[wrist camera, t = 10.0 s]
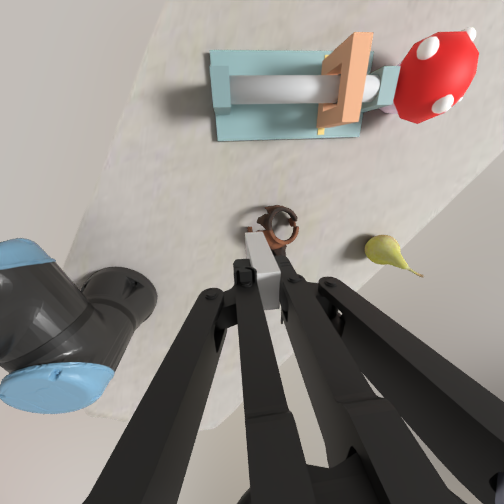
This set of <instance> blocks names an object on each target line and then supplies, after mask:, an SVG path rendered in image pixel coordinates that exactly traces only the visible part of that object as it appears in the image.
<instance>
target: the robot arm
mask: <svg viewBox="0 0 504 504" xmlns="http://www.w3.org/2000/svg"><path fill="white" fill-rule="evenodd" d="M245 245H246V259H237V260H235V261H234V263H233V267H234V282H235V283H234V286H233V287H232V288H231V289H229V290H227V291H225V292H223V291H222V290H220V289H218V288H209V289H206V290H204V291H202V292H201V293H200V295H199V297H198V298H197V300H196V302H195V304H194V306H193V307H192V309H191V311H190V313H189V315H188V316H187V318H186V320H185V322H184V324H183V326H182V327H181V329H180V331H179V333H178V335H177V336H176V338H175V340H174V342H173V344H172V345H171V347H170V349H169V351H168V353H167V355H166V356H165V358H164V360H163V362H162V364H161V365H160V367H159V369H158V371H157V373H156V374H155V376H154V378H153V380H152V382H151V383H150V385H149V387H148V389H147V391H146V393H145V394H144V396H143V398H142V400H141V402H140V403H139V405H138V407H137V409H136V411H135V412H134V414H133V416H132V418H131V420H130V422H129V423H128V425H127V427H126V429H125V431H124V433H123V434H122V436H121V438H120V440H119V441H118V443H117V445H116V447H115V449H114V451H113V452H112V454H111V456H110V458H109V460H108V461H107V463H106V465H105V467H104V469H103V470H102V472H101V474H100V476H99V478H98V480H97V481H96V483H95V485H94V487H93V489H92V491H91V492H90V494H89V496H88V497H87V498H86V500H85V501H84V502H83V503H82V504H177V501H178V497H179V494H180V491H181V487H182V484H183V480H184V477H185V474H186V470H187V466H188V463H189V460H190V456H191V453H192V450H193V446H194V443H195V439H196V436H197V433H198V429H199V426H200V422H201V419H202V415H203V412H204V409H205V405H206V402H207V398H208V395H209V391H210V388H211V385H212V381H213V378H214V374H215V371H216V368H217V364H218V361H219V357H220V354H221V350H222V347H223V344H224V340H225V337H226V333H227V328H229V327H231V326H234V325H236V324H238V334H239V347H240V360H241V373H242V386H243V399H244V412H245V425H246V439H247V451H248V464H249V478H250V488H249V489H248V490H247V491H246V492H245V494H244V495H243V496H242V497H241V499H240V500H239V502H238V503H237V504H466V503H465V502H464V501H462V500H461V499H460V498H459V497H458V496H456V495H455V494H454V493H453V492H451V491H450V490H449V489H448V488H447V486H446V485H445V483H444V482H443V480H442V479H441V477H440V476H439V474H438V473H437V471H436V469H435V468H434V466H433V465H432V463H431V462H430V460H429V459H428V458H427V456H426V454H425V453H424V451H423V450H422V448H421V447H420V445H419V444H418V442H417V441H416V439H415V437H414V436H413V434H412V433H411V431H410V430H409V428H408V427H407V425H406V424H405V422H406V423H407V424H408V425H409V426H410V427H411V428H412V430H413V431H414V432H415V433H416V434H417V435H418V436H419V437H420V439H421V440H422V441H423V442H424V443H425V444H426V445H427V446H428V448H429V449H430V450H431V451H432V452H433V453H434V454H435V456H436V457H437V458H438V459H439V460H440V461H441V462H442V463H443V464H444V465H445V466H446V467H447V469H448V470H449V471H450V472H451V473H452V474H453V475H454V476H455V477H456V478H457V479H458V480H459V481H460V482H461V483H462V484H463V485H464V486H465V487H466V488H467V489H468V490H469V491H470V492H471V493H472V494H473V495H475V497H476V498H477V499H478V500H479V501H481V502H482V503H483V504H504V402H503V401H501V400H500V399H499V398H498V397H496V396H495V395H493V394H492V393H491V392H490V391H488V390H487V389H485V388H484V387H483V386H481V385H480V384H479V383H477V382H476V381H475V380H473V379H472V378H471V377H469V376H468V375H467V374H465V373H464V372H462V371H461V370H460V369H458V368H457V367H456V366H454V365H453V364H452V363H450V362H449V361H448V360H446V359H445V358H444V357H442V356H441V355H440V354H438V353H437V352H436V351H434V350H433V349H432V348H430V347H429V346H428V345H426V344H425V343H424V342H422V341H421V340H420V339H418V338H417V337H416V336H414V335H413V334H411V333H410V332H409V331H407V330H406V329H405V328H403V327H402V326H401V325H399V324H398V323H396V322H395V321H394V320H393V319H391V318H390V317H389V316H387V315H386V314H384V313H383V312H382V311H380V310H379V309H378V308H376V307H375V306H374V305H372V304H371V303H370V302H368V301H367V300H366V299H364V298H363V297H362V296H360V295H359V294H358V293H356V292H355V291H354V290H352V289H351V288H350V287H348V286H347V285H346V284H344V283H343V282H341V281H340V280H338V279H337V278H333V277H323V278H320V280H319V283H311V282H306V280H305V279H304V278H303V277H302V276H301V275H299V274H297V273H296V272H295V270H294V268H293V266H292V265H291V263H290V261H289V259H288V258H287V257H285V256H284V255H280V256H273V254H272V251H271V249H270V247H269V245H268V243H267V240H266V238H265V236H264V234H263V232H248V233H245ZM156 303H157V292H156V289H155V287H154V286H153V284H152V283H151V282H150V281H149V280H148V279H147V278H146V277H145V276H143V275H142V274H140V273H138V272H136V271H134V270H131V269H128V268H122V267H110V268H105V269H102V270H99V271H97V272H96V273H94V274H93V275H92V276H91V277H90V278H89V279H88V280H87V281H86V282H85V284H84V285H83V287H82V289H81V291H80V290H79V289H78V288H77V287H76V285H75V284H74V283H73V282H72V281H71V280H70V278H69V277H68V276H67V275H66V274H65V273H64V272H63V270H62V269H61V268H60V267H59V266H58V265H57V264H56V260H55V259H53V258H50V257H49V256H48V255H47V254H46V253H45V251H44V250H42V248H40V246H39V245H38V244H36V243H35V242H33V241H31V240H29V239H22V238H16V239H11V240H7V241H3V242H0V366H1V367H2V368H4V369H5V370H6V371H8V372H9V375H6V376H5V377H4V379H2V381H1V384H0V399H1V400H2V401H3V402H4V403H6V404H7V405H9V406H12V407H14V408H16V409H20V410H23V411H27V412H32V413H42V414H58V413H67V412H72V411H77V410H79V409H83V408H85V407H87V406H89V405H91V404H92V403H94V402H95V401H96V400H97V399H98V398H99V397H100V396H101V395H102V393H103V392H104V390H105V388H106V387H107V385H108V383H109V381H110V380H111V379H112V378H113V376H114V373H115V371H116V369H117V367H118V365H119V362H120V360H121V358H122V356H123V354H124V352H125V350H126V348H127V346H128V344H129V341H130V339H131V337H132V335H133V333H134V331H135V330H136V329H137V328H138V327H139V326H140V324H141V323H142V322H144V321H145V320H147V319H148V318H149V317H150V315H151V314H152V312H153V310H154V308H155V306H156ZM280 304H281V324H283V321H284V324H285V326H286V329H287V332H288V335H289V338H290V341H291V344H292V347H293V350H294V353H295V356H296V359H297V362H298V365H299V368H300V371H301V374H302V377H303V380H304V383H305V386H306V389H307V392H308V395H309V397H310V400H311V403H312V406H313V409H314V412H315V415H316V418H317V421H318V424H319V427H320V430H321V433H322V436H323V439H324V442H325V446H326V453H327V460H328V464H329V468H324V467H319V466H313V465H308V464H306V461H305V457H304V454H303V450H302V446H301V442H300V438H299V434H298V431H297V427H296V423H295V420H294V417H293V414H292V412H290V411H289V409H288V406H287V402H286V398H285V394H284V390H283V386H282V382H281V378H280V374H279V369H278V365H277V361H276V357H275V353H274V349H273V345H272V341H271V337H270V333H269V329H268V325H267V321H266V317H265V313H264V310H271V309H279V307H280ZM338 310H340V311H341V312H342V315H341V314H340V313H338ZM362 373H363V374H364V375H365V376H366V377H367V379H368V380H369V381H370V382H371V383H372V384H373V385H374V386H375V388H376V389H377V390H378V391H379V392H380V393H381V394H382V395H383V397H384V398H381V397H378V396H377V395H376V394H375V393H374V392H373V390H372V388H371V387H370V385H369V384H368V382H367V380H366V379H365V377H364V375H363V374H362ZM401 417H402V418H403V419H404V420H405V422H404V421H403V419H402V418H401Z"/></svg>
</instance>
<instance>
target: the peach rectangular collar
mask: <svg viewBox="0 0 504 504" xmlns="http://www.w3.org/2000/svg"><path fill="white" fill-rule="evenodd" d="M372 38H373V32H354V33H353V34H352V35H350V36H349V37H348V38H347V39H346V40H345V41H344V42H343V43H342V44H341V45H339V46H338V47H337V48H336V49H335V50H334V51H333V52H332V53H331V54H330V55H328V56H327V57H326V58H325V59H324V60H323V61H322V71H321V75H338V74H341V77H340V85H339V93H338V101H337V104H333V103H319V104H318V115H317V126H316V128H331V127H336V126H340V125H345V124H350V123H355V122H359V117H360V111H361V105H362V99H363V93H364V87H365V81H366V75H367V68H368V62H369V56H370V50H371V44H372Z"/></svg>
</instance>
